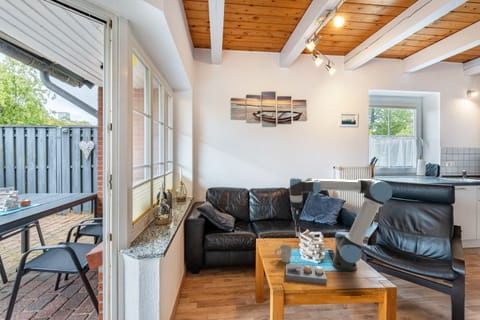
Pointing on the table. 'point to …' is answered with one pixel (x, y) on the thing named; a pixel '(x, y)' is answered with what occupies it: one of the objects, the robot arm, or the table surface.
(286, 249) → the mug
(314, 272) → the panel
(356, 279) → the table surface
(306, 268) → the button terracotta
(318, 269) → the button cream
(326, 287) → the table surface
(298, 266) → the rocker
